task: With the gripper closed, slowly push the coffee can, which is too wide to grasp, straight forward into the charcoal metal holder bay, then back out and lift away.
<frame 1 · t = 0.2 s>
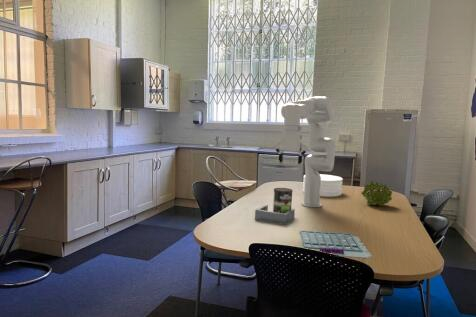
hand: (290, 162, 183), 31 cm above the table, tool pointing down, fingers open, 9 cm apart
plate stack: (321, 192, 268), on the table
green bumpy round lump: (375, 205, 232), on the table
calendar: (333, 245, 156), on the table
can holder bay: (275, 218, 193), on the table
coffee can: (281, 214, 202), on the table
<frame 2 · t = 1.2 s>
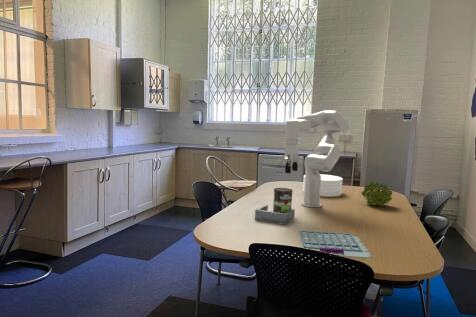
hand: (291, 171, 206), 23 cm above the table, tool pointing down, fingers open, 9 cm apart
nothing on the table moved.
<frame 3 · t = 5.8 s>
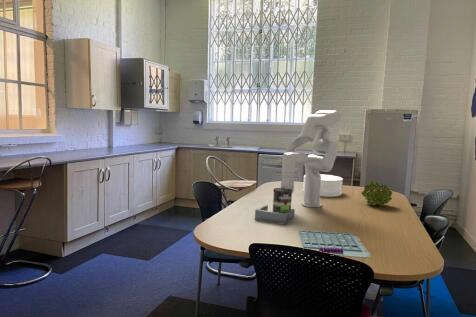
hand: (286, 205, 208), 3 cm above the table, tool pointing down, fingers closed
coffee can: (281, 214, 201), on the table, touching gripper
everything else where it was.
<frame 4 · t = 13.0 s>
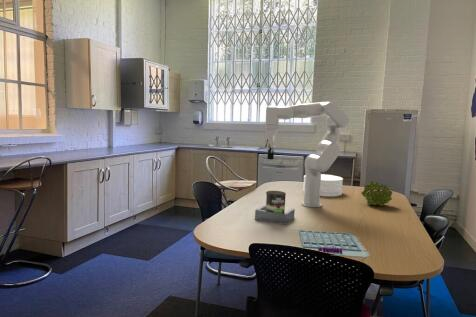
hand: (270, 159, 212), 29 cm above the table, tool pointing down, fingers closed
coffee can: (274, 218, 192), on the table
everything else where it was.
at the end: coffee can 1.1 cm from the target spot on the can holder bay, point 0.0 cm above the can holder bay's base; coffee can tilted 0° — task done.
